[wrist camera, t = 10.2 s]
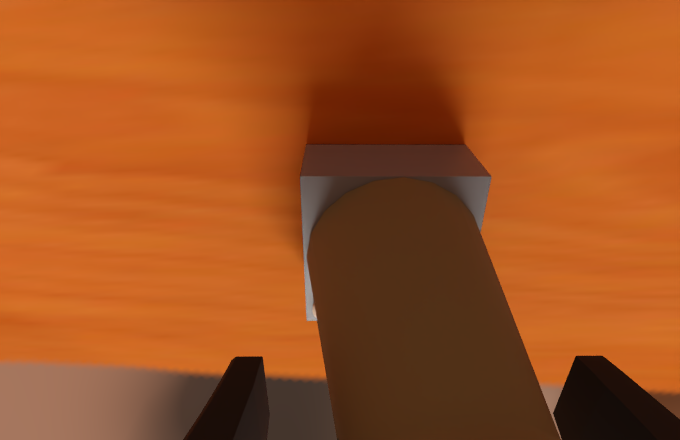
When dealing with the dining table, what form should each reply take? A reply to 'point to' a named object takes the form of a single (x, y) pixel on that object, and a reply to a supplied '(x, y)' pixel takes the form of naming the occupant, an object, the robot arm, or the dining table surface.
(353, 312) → the cork
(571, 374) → the robot arm
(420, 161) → the block
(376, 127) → the dining table surface
